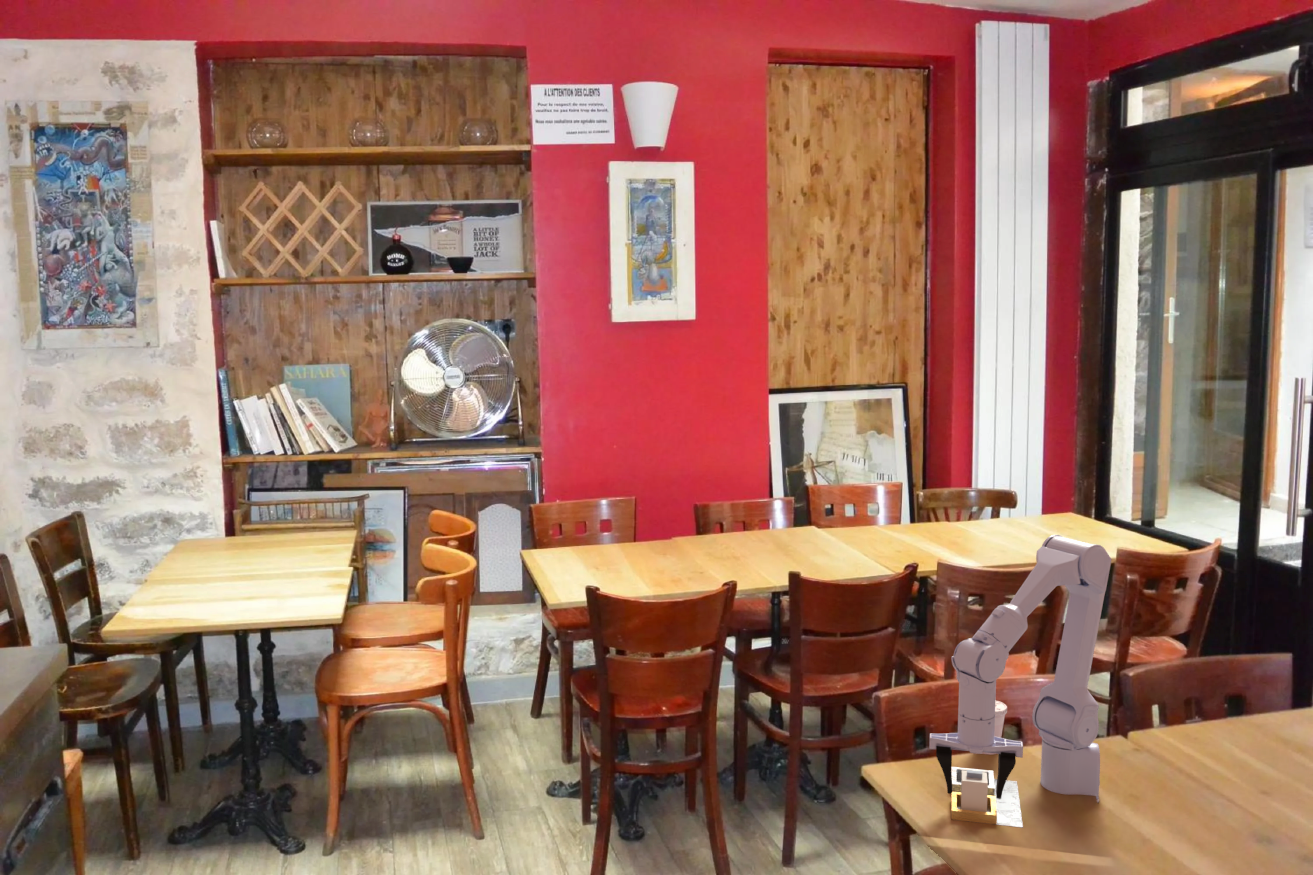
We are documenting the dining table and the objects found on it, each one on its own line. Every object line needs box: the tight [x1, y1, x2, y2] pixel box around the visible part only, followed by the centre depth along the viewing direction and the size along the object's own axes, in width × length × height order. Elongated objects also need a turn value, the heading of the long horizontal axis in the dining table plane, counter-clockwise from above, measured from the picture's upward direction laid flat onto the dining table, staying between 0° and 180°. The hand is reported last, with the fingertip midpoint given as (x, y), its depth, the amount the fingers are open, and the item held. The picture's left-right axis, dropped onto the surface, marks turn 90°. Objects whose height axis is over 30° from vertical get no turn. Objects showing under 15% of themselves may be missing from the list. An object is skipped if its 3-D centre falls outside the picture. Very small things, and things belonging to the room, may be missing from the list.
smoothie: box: [982, 700, 1008, 756], centre depth 205 cm, size 6×6×14 cm
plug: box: [961, 770, 988, 812], centre depth 181 cm, size 4×4×7 cm
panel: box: [950, 766, 1024, 828], centre depth 185 cm, size 11×17×2 cm, turn 165°
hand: (974, 793), depth 181 cm, fingers open, 7 cm apart
